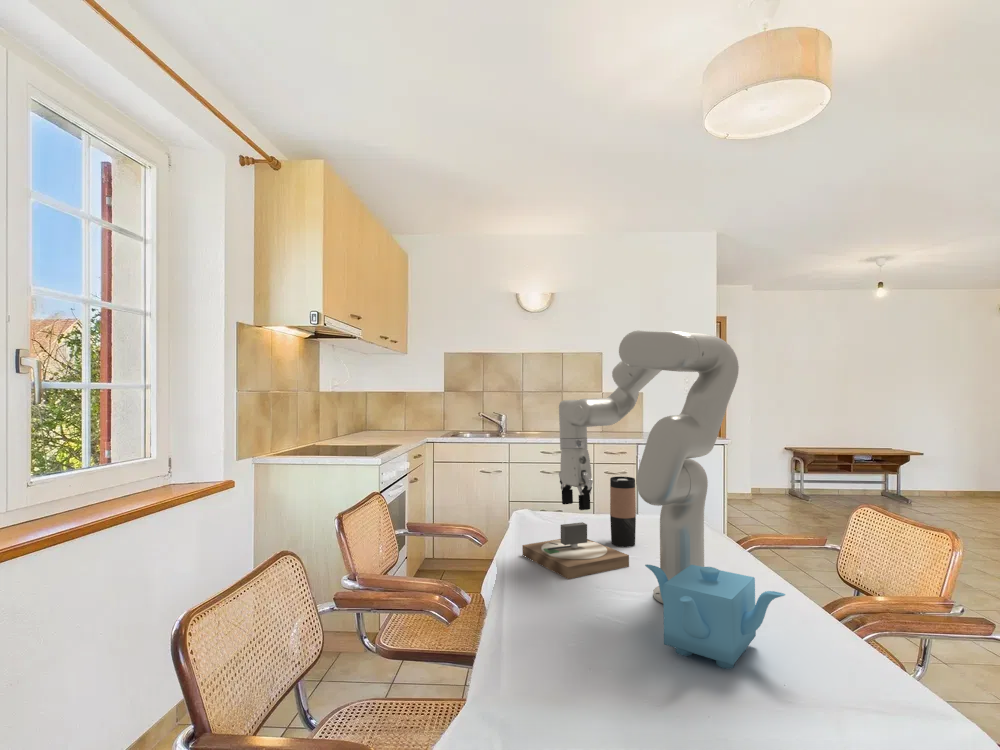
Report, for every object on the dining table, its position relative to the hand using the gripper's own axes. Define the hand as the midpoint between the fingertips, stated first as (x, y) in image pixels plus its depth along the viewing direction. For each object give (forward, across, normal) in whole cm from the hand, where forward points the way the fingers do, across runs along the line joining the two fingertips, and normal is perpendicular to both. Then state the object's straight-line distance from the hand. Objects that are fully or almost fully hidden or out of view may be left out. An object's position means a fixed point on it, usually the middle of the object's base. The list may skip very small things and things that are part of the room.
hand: (575, 506), depth 150 cm
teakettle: (+17, -53, +3) cm, 56 cm away
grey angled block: (+11, +1, +3) cm, 12 cm away
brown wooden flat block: (+15, +1, 0) cm, 15 cm away
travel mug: (+15, +10, -22) cm, 28 cm away
